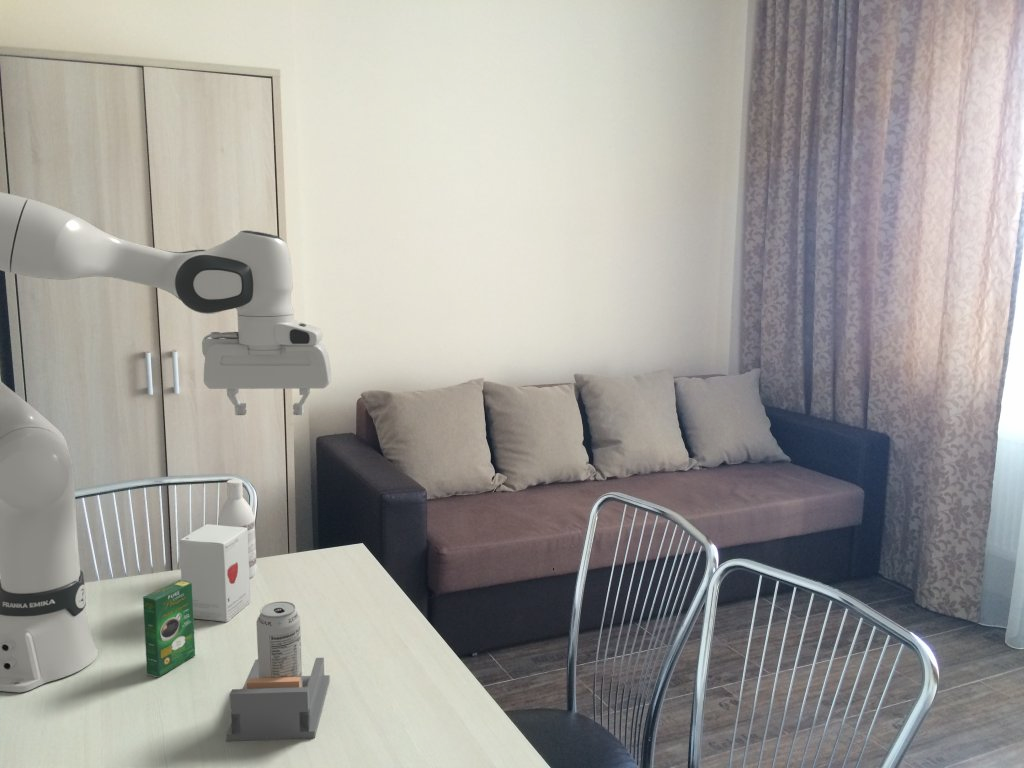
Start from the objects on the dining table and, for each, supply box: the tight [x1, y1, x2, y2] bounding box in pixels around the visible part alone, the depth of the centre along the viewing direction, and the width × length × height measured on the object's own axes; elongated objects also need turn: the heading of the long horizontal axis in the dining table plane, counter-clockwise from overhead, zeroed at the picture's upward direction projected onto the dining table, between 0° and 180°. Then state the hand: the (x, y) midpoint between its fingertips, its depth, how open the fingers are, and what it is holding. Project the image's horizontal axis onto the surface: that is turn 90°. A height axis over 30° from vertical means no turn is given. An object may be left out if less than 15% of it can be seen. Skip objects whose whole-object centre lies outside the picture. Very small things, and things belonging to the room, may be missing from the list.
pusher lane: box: [225, 657, 331, 742], centre depth 123 cm, size 12×15×7 cm
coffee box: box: [142, 579, 196, 678], centre depth 134 cm, size 8×3×13 cm, turn 156°
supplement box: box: [179, 523, 251, 623], centre depth 154 cm, size 9×9×15 cm
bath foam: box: [217, 478, 258, 579], centre depth 169 cm, size 7×7×20 cm
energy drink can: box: [255, 601, 303, 687], centre depth 121 cm, size 6×6×15 cm
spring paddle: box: [247, 677, 301, 689], centre depth 118 cm, size 7×1×6 cm, turn 94°
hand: (269, 414), depth 139 cm, fingers open, 8 cm apart
